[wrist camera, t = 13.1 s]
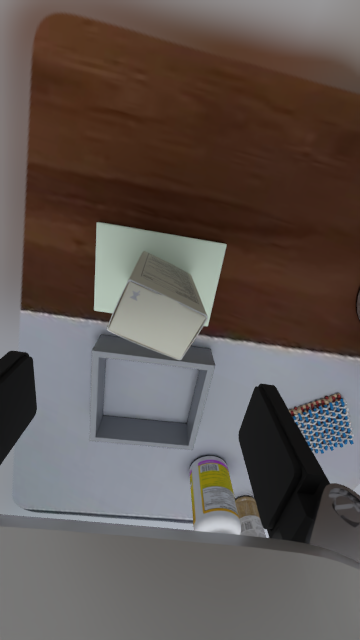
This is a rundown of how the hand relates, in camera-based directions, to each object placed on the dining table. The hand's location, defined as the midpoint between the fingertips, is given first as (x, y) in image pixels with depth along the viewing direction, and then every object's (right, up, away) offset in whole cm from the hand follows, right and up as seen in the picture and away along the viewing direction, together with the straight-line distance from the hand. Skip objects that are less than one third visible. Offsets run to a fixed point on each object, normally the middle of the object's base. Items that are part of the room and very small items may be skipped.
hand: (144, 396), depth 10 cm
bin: (-3, -6, +25) cm, 26 cm away
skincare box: (-1, +8, +18) cm, 20 cm away
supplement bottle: (+6, -22, +33) cm, 40 cm away
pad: (-1, +8, +19) cm, 21 cm away
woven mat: (+23, -13, +30) cm, 40 cm away
